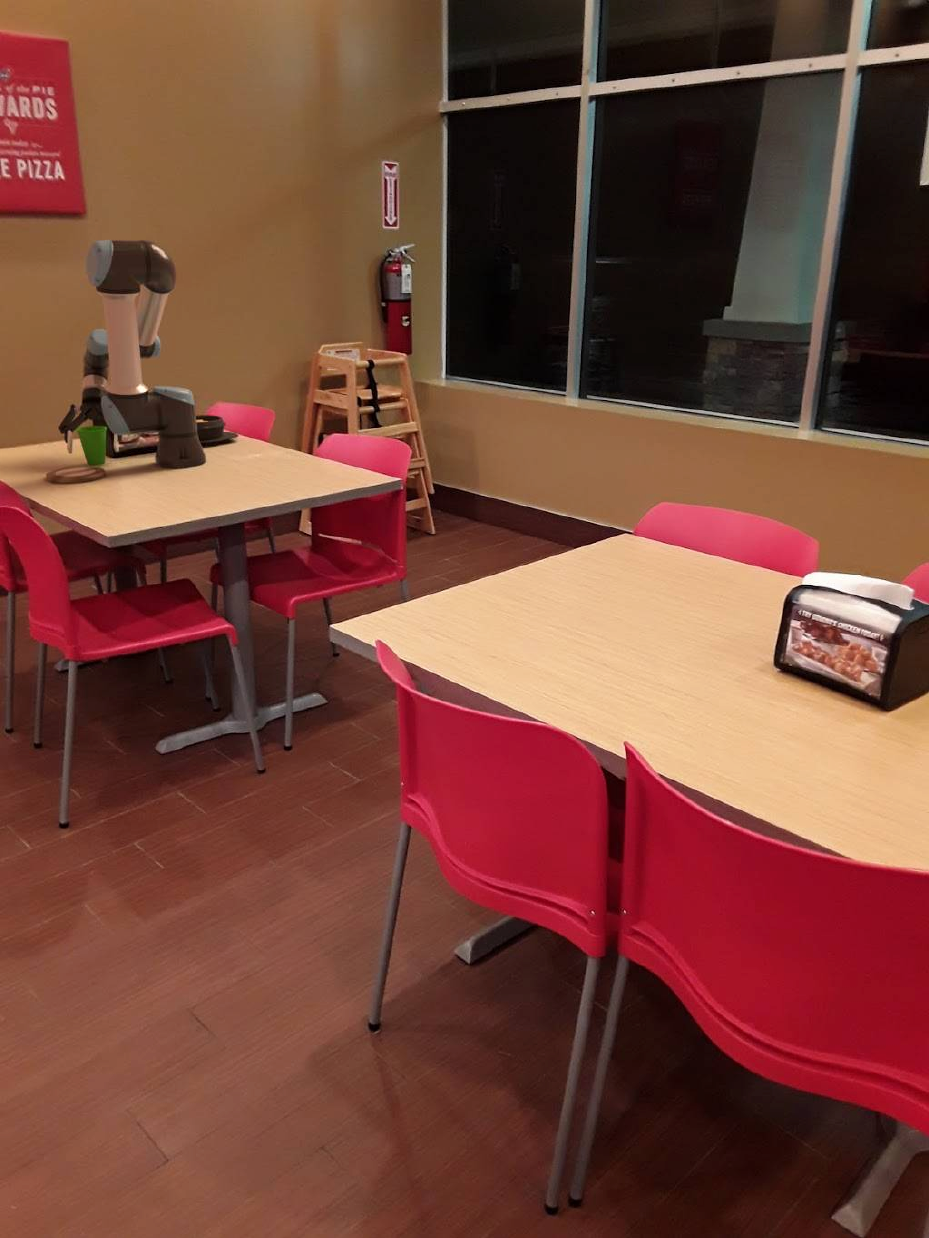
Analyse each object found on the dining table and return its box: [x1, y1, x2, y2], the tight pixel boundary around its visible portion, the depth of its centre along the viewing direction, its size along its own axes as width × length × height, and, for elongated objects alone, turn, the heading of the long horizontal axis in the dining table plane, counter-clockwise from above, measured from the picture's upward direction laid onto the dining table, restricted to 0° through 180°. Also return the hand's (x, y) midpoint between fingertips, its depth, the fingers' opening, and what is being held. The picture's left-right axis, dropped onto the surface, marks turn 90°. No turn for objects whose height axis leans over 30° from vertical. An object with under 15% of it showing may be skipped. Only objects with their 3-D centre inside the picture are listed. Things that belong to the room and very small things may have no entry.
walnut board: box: [45, 465, 106, 485], centre depth 274 cm, size 16×16×2 cm
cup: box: [75, 425, 108, 467], centre depth 289 cm, size 9×9×11 cm
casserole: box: [196, 414, 239, 447], centre depth 321 cm, size 25×19×8 cm
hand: (93, 450), depth 288 cm, fingers open, 13 cm apart
